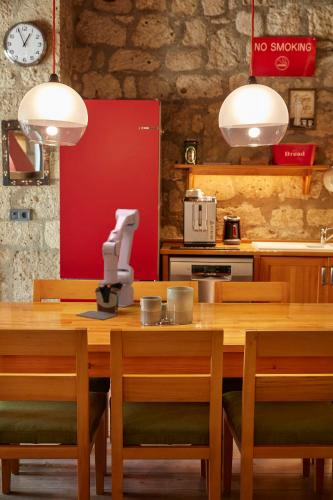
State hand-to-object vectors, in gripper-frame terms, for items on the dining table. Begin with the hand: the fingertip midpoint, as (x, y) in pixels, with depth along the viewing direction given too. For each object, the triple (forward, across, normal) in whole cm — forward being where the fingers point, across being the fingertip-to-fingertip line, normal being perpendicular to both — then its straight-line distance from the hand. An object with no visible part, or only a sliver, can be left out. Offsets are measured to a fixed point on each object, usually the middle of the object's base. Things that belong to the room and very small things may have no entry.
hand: (110, 301), depth 236 cm
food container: (+5, 0, 0) cm, 5 cm away
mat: (+4, -10, 0) cm, 10 cm away
